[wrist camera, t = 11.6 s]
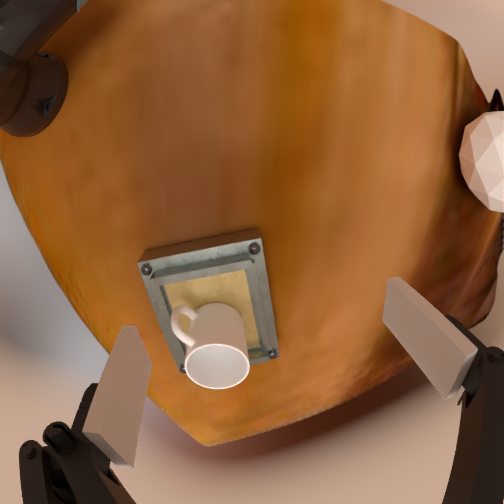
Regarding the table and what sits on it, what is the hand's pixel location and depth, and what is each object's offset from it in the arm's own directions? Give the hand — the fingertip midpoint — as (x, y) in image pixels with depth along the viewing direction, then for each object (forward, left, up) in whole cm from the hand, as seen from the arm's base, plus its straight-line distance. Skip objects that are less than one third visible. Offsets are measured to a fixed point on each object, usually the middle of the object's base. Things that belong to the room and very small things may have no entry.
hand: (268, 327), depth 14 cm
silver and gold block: (+15, -6, -31) cm, 35 cm away
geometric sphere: (-4, +50, -31) cm, 58 cm away
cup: (+15, -7, -26) cm, 30 cm away
